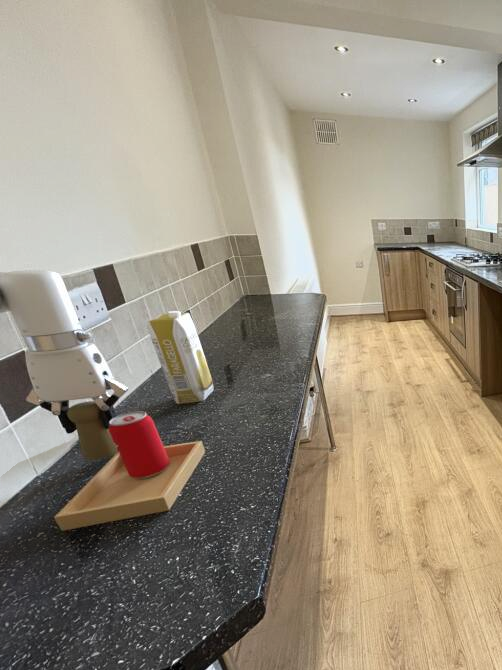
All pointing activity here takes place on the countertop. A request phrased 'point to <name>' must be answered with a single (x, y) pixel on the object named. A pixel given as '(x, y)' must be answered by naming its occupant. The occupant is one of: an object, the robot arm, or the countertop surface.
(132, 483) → the tray
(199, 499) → the countertop surface
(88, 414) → the pepper shaker
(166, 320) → the juice carton
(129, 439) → the beverage can
